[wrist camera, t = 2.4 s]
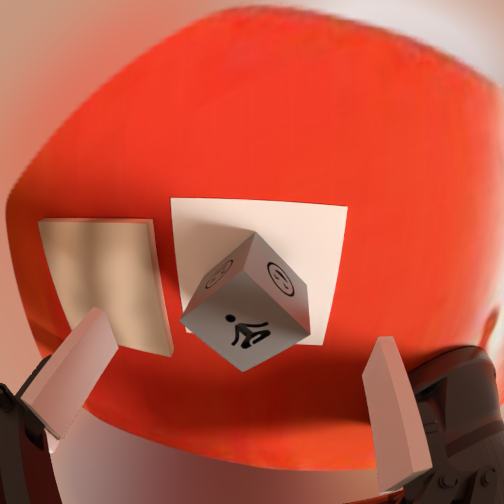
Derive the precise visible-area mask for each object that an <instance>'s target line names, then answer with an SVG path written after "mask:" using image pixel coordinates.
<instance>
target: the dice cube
mask: <svg viewBox="0 0 504 504" xmlns="http://www.w3.org/2000/svg"><path fill="white" fill-rule="evenodd" d="M179 322H181V323H182V324H183V325H184V326H185V327H186V328H188V329H189V330H190V331H191V332H192V333H194V334H195V335H196V336H197V337H198V338H200V339H201V340H202V341H203V342H204V343H206V344H207V345H208V346H209V347H211V348H212V349H213V350H214V351H216V352H217V353H218V354H219V355H221V356H222V357H223V358H225V359H226V360H227V361H229V362H230V363H231V364H232V365H234V366H235V367H236V368H238V369H239V370H240V371H242V372H244V371H246V370H248V369H250V368H252V367H254V366H256V365H258V364H260V363H262V362H263V361H265V360H267V359H269V358H271V357H273V356H275V355H276V354H278V353H280V352H282V351H284V350H285V349H287V348H289V347H291V346H292V345H294V344H296V343H298V342H299V341H301V340H303V339H304V338H306V337H308V336H309V335H311V330H310V316H309V303H308V292H307V285H306V284H305V283H304V282H303V280H302V279H301V278H300V277H299V276H298V275H297V274H296V273H295V272H294V271H293V270H292V269H291V268H290V267H289V266H288V265H287V264H286V262H285V261H284V260H283V259H282V258H281V257H280V256H279V255H278V254H277V253H276V252H275V251H274V250H273V249H272V248H271V247H270V246H269V245H268V244H267V243H266V242H265V240H264V239H263V238H262V237H261V236H260V235H259V234H258V233H257V232H255V233H253V234H252V235H251V236H250V237H249V238H248V239H246V240H245V241H244V242H243V243H242V244H241V245H239V246H238V247H237V248H236V249H235V250H234V251H232V252H231V253H230V254H229V255H228V256H227V257H226V258H224V259H223V260H222V261H221V262H220V263H219V264H217V265H216V266H215V267H214V268H213V269H212V270H210V271H209V272H208V273H207V274H206V275H205V276H204V277H203V278H202V280H201V282H200V284H199V285H198V287H197V289H196V291H195V293H194V294H193V296H192V298H191V300H190V302H189V303H188V305H187V307H186V309H185V311H184V312H183V314H182V316H181V318H180V320H179Z"/></svg>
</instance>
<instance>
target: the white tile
mask: <svg viewBox="0 0 504 504" xmlns="http://www.w3.org/2000/svg"><path fill="white" fill-rule="evenodd" d="M347 208H348V207H347V206H337V205H325V204H313V203H300V202H285V201H268V200H248V199H221V198H171V212H172V224H173V236H174V246H175V255H176V264H177V273H178V281H179V288H180V295H181V302H182V309H183V312H184V311H185V309H186V307H187V305H188V303H189V302H190V300H191V298H192V296H193V294H194V293H195V291H196V289H197V287H198V285H199V284H200V282H201V280H202V278H203V277H204V276H205V275H206V274H207V273H208V272H209V271H210V270H212V269H213V268H214V267H215V266H216V265H217V264H219V263H220V262H221V261H222V260H223V259H224V258H226V257H227V256H228V255H229V254H230V253H231V252H232V251H234V250H235V249H236V248H237V247H238V246H239V245H241V244H242V243H243V242H244V241H245V240H246V239H248V238H249V237H250V236H251V235H252V234H253V233H255V232H257V233H258V234H259V235H260V236H261V237H262V238H263V239H264V240H265V242H266V243H267V244H268V245H269V246H270V247H271V248H272V249H273V250H274V251H275V252H276V253H277V254H278V255H279V256H280V257H281V258H282V259H283V260H284V261H285V262H286V264H287V265H288V266H289V267H290V268H291V269H292V270H293V271H294V272H295V273H296V274H297V275H298V276H299V277H300V278H301V279H302V280H303V282H304V283H305V284H306V285H307V292H308V303H309V316H310V330H311V335H309V336H308V337H306V338H304V339H303V340H301V341H299V342H298V343H296V344H307V345H323V341H324V336H325V332H326V328H327V323H328V319H329V314H330V310H331V305H332V300H333V295H334V290H335V285H336V280H337V274H338V269H339V263H340V257H341V251H342V244H343V238H344V231H345V224H346V216H347ZM185 328H186V327H185ZM186 332H188V333H192V332H191V331H190V330H189V329H188V328H186Z"/></svg>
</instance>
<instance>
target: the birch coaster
mask: <svg viewBox="0 0 504 504" xmlns="http://www.w3.org/2000/svg"><path fill="white" fill-rule="evenodd" d="M38 226H39V231H40V236H41V240H42V244H43V248H44V252H45V256H46V259H47V263H48V266H49V270H50V273H51V276H52V279H53V282H54V285H55V288H56V291H57V294H58V297H59V300H60V303H61V305H62V308H63V310H64V313H65V316H66V318H67V321H68V323H69V325H70V328H71V330H72V331H73V330H74V329H75V327H76V326H77V325H78V324H79V323H80V322H81V320H82V319H83V318H84V317H85V316H86V315H87V314H88V313H89V311H90V310H91V309H92V308H93V307H96V308H100V309H104V310H105V312H106V315H107V318H108V321H109V324H110V327H111V329H112V332H113V335H114V337H115V340H116V343H117V345H121V346H125V347H128V348H132V349H137V350H141V351H145V352H149V353H154V354H158V355H163V356H168V357H171V356H172V354H173V352H174V350H175V349H174V345H173V340H172V336H171V331H170V326H169V321H168V316H167V311H166V306H165V301H164V295H163V289H162V283H161V277H160V270H159V264H158V257H157V249H156V242H155V233H154V224H153V219H124V218H44V219H42V220H40V221H38Z"/></svg>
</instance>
